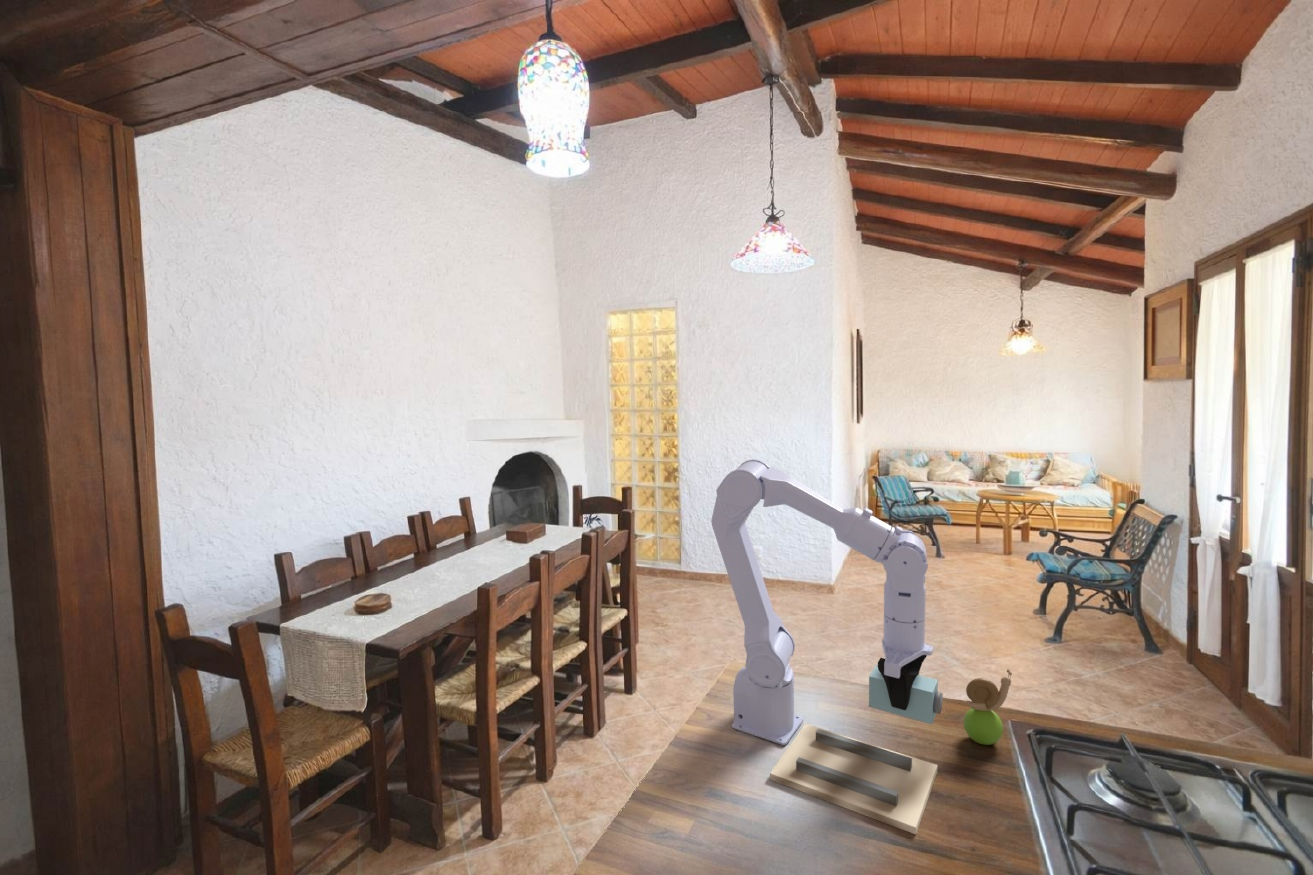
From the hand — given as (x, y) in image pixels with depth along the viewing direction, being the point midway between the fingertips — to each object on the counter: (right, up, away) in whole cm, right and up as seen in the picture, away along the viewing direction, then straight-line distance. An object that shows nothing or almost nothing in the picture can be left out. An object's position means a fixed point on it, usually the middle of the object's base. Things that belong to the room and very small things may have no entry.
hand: (902, 699), depth 95 cm
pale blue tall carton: (0, -1, 0) cm, 1 cm away
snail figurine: (+14, -8, +2) cm, 16 cm away
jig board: (-9, -9, -4) cm, 13 cm away
